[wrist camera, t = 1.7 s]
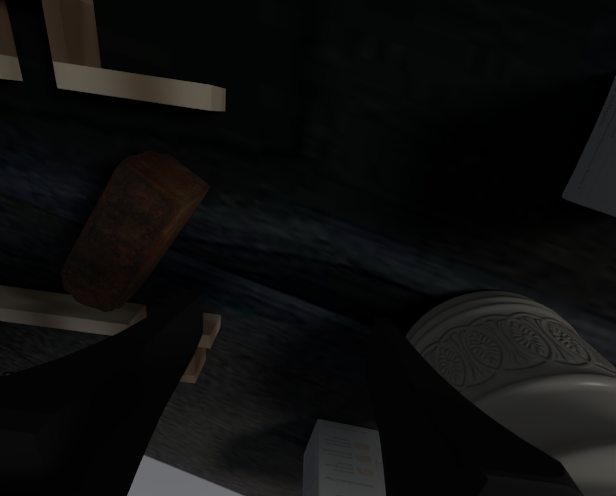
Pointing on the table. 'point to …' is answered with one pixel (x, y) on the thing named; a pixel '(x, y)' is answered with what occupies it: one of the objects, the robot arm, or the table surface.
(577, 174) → the supplement box
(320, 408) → the table surface
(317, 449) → the small box
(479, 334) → the jar
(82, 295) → the brick
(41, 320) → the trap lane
